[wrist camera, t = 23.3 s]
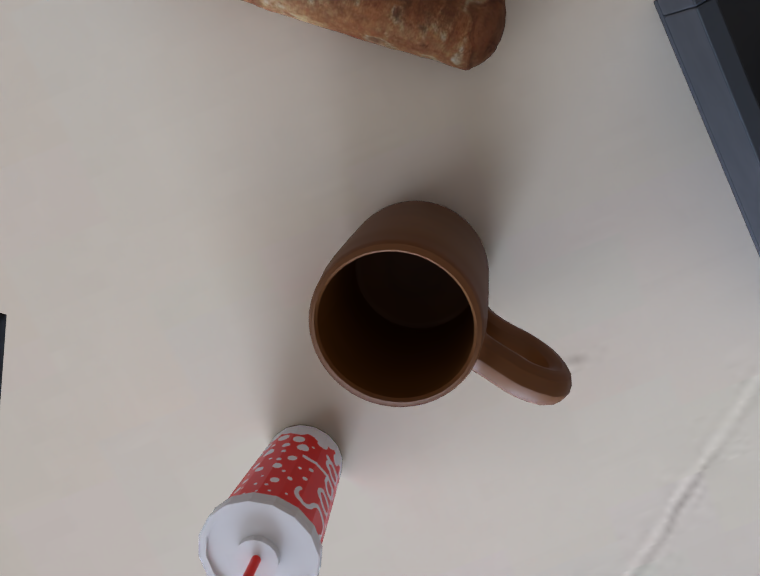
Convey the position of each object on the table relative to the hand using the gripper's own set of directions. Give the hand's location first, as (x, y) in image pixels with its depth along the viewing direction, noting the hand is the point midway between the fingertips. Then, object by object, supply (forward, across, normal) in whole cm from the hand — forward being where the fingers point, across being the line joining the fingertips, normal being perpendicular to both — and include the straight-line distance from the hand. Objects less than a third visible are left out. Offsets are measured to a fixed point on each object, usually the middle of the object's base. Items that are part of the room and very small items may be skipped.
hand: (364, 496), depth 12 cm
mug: (+27, +1, -4) cm, 27 cm away
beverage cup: (+27, -4, -18) cm, 32 cm away
